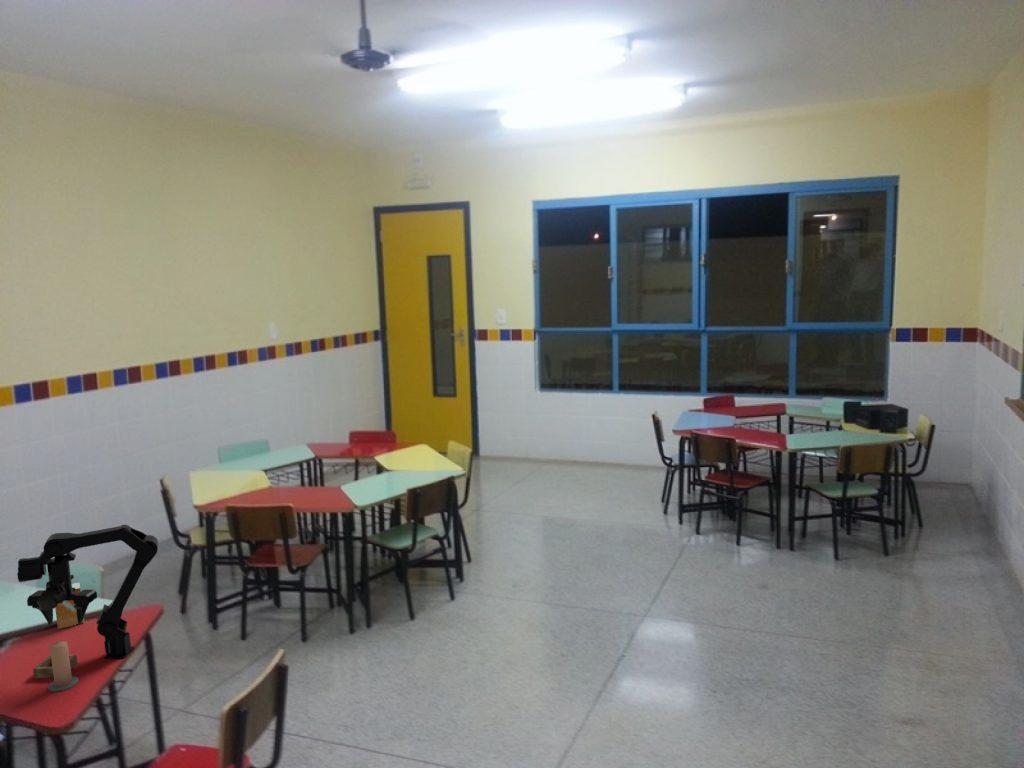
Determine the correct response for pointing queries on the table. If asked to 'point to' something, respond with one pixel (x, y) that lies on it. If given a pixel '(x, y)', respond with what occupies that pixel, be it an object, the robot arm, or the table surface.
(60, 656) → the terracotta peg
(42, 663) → the walnut socket
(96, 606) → the table surface
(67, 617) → the small box
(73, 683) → the charcoal coaster
